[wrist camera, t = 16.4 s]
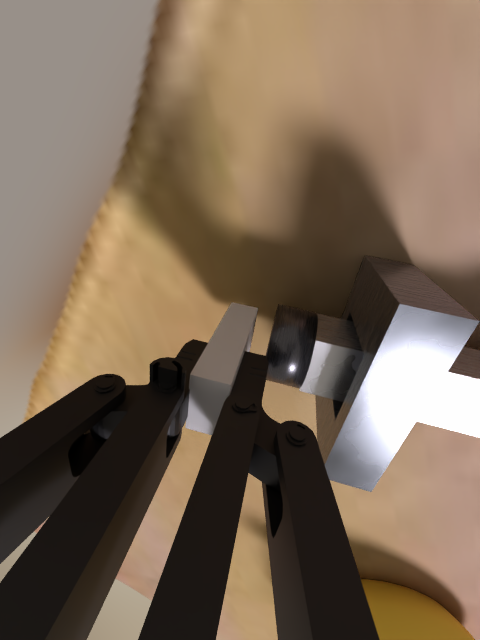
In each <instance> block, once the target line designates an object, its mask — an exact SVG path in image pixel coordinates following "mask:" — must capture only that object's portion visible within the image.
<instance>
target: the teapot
mask: <svg viewBox="0 0 480 640" xmlns="http://www.w3.org/2000/svg"><path fill="white" fill-rule="evenodd" d="M361 582H362V585H363V588H364V591H365V595H366V598H367V601H368V604H369V607H370V610H371V614H372V617H373V620H374V623H375V626H376V630H377V633H378V636H379V639H380V640H475V639H474V638H473V637H472V635H471V634H470V633H469V632H468V631H467V630H466V629H465V628H464V627H463V626H462V625H461V624H460V623H459V621H458V620H457V619H456V618H455V617H453V616H452V615H451V614H450V613H449V612H448V611H447V610H446V609H445V608H444V607H443V606H442V605H440V604H439V603H437V602H436V601H435V600H433V599H431V598H430V597H428V596H426V595H424V594H422V593H420V592H417V591H415V590H412V589H410V588H407V587H404V586H400V585H397V584H393V583H389V582H383V581H377V580H369V579H361Z"/></svg>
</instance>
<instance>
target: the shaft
mask: <svg viewBox="0 0 480 640" xmlns="http://www.w3.org/2000/svg"><path fill="white" fill-rule="evenodd" d="M363 357H364V354H363V351H362V348H361V344H360V341H359V338H358V335H357V332H356V329H355V326H354V322H353V321H349V320H344V319H340V318H336V317H331V316H327V315H323V314H318V313H316V312H311V311H307V310H302V309H298V308H294V307H289V306H285V305H281V304H278V307H277V310H276V315H275V319H274V323H273V327H272V331H271V335H270V339H269V344H268V348H267V352H266V358H267V360H268V363H269V366H268V371H267V376H266V380H269V381H272V382H276V383H280V384H284V385H288V386H292V387H296V388H299V391H302V392H306V393H310V394H314V395H318V396H322V397H326V398H330V399H333V400H337V401H341V402H344V400H345V398H346V395H347V393H348V391H349V388H350V386H351V384H352V382H353V379H354V377H355V375H356V373H357V370H358V368H359V366H360V364H361V361H362V359H363ZM417 421H419V422H422V423H426V424H430V425H434V426H438V427H442V428H446V429H450V430H453V431H457V432H461V433H465V434H469V435H473V436H477V437H480V350H476V349H472V348H467V347H463V348H462V350H461V352H460V353H459V355H458V356H457V358H456V359H455V361H454V363H453V364H452V366H451V367H450V369H449V370H448V372H447V374H446V375H445V377H444V378H443V380H442V381H441V383H440V385H439V386H438V388H437V389H436V391H435V392H434V394H433V396H432V397H431V399H430V400H429V402H428V404H427V405H426V407H425V408H424V410H423V411H422V413H421V415H420V416H419V418H418V419H417Z"/></svg>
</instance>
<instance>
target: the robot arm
mask: <svg viewBox="0 0 480 640" xmlns="http://www.w3.org/2000/svg"><path fill="white" fill-rule="evenodd" d="M257 312H258V308H256V307H251V306H247V305H242V304H238V303H233V302H232V303H231V304H230V306H229V308H228V310H227V311H226V313H225V315H224V316H223V318H222V320H221V322H220V323H219V325H218V327H217V329H216V330H215V332H214V334H213V336H212V337H211V339H210V341H209V342H208V343H206V342H202V341H198V340H194V339H193V340H191V341H189V342H188V343H186V344H185V345H184V346H183V348H182V349H181V350H180V352H179V353H178V355H177V357H175V358H169V357H166V358H160V359H157V360H154V361H153V362H152V363H151V364H150V382H149V384H147V385H126V383H125V381H124V379H123V378H122V377H121V376H118V375H115V374H104V375H99V376H97V377H95V378H93V379H91V380H89V381H88V382H86V383H85V384H83V385H81V386H80V387H78V388H77V389H75V390H74V391H72V392H71V393H69V394H68V395H66V396H64V397H63V398H61V399H60V400H58V401H57V402H55V403H54V404H52V405H51V406H49V407H47V408H46V409H44V410H43V411H41V412H40V413H38V414H37V415H35V416H34V417H32V418H30V419H29V420H27V421H26V422H24V423H23V424H21V425H20V426H18V427H17V428H15V429H13V430H12V431H10V432H9V433H7V434H6V435H4V436H3V437H1V438H0V564H1V562H3V561H4V560H5V559H6V558H7V557H8V556H9V555H10V554H11V553H12V552H13V551H14V550H15V549H16V548H17V547H18V546H19V545H20V544H21V543H22V542H23V541H24V540H25V539H26V538H27V537H28V536H29V535H30V534H31V533H33V532H34V531H35V530H36V529H37V528H38V527H39V526H40V525H41V524H42V523H43V522H44V521H45V520H46V519H47V518H48V517H49V516H50V517H49V518H48V519H47V521H46V522H45V523H44V525H43V526H42V527H41V529H40V530H39V532H38V533H37V534H36V536H35V537H34V538H33V540H32V541H31V542H30V544H29V545H28V547H27V548H26V549H25V550H24V552H23V553H22V554H21V556H20V557H19V558H18V560H17V561H16V562H15V564H14V565H13V566H12V568H11V569H10V571H9V572H8V573H7V574H6V576H5V577H4V579H3V580H2V581H1V583H0V640H86V639H87V638H88V635H89V633H90V631H91V629H92V627H93V624H94V623H95V620H96V618H97V616H98V614H99V612H100V610H101V608H102V606H103V603H104V601H105V599H106V597H107V595H108V593H109V591H110V588H111V586H112V584H113V582H114V580H115V578H116V576H117V574H118V571H119V569H120V567H121V565H122V563H123V561H124V559H125V556H126V554H127V552H128V550H129V548H130V546H131V544H132V542H133V539H134V537H135V535H136V533H137V531H138V529H139V527H140V524H141V522H142V520H143V518H144V516H145V514H146V512H147V510H148V507H149V505H150V503H151V501H152V499H153V497H154V495H155V492H156V490H157V488H158V486H159V484H160V482H161V480H162V478H163V475H164V473H165V471H166V469H167V467H168V465H169V463H170V460H171V458H172V456H173V454H174V452H175V450H176V448H177V446H178V443H179V441H180V439H181V434H182V427H183V425H184V423H185V421H186V428H187V429H191V430H195V431H198V432H202V433H206V434H209V435H212V437H211V440H210V443H209V445H208V448H207V451H206V454H205V456H204V459H203V462H202V465H201V467H200V470H199V473H198V476H197V478H196V481H195V484H194V487H193V489H192V492H191V495H190V498H189V500H188V503H187V506H186V509H185V512H184V514H183V517H182V520H181V523H180V525H179V528H178V531H177V534H176V536H175V539H174V542H173V545H172V547H171V550H170V553H169V556H168V558H167V561H166V564H165V567H164V570H163V572H162V575H161V578H160V581H159V583H158V586H157V589H156V592H155V594H154V597H153V600H152V603H151V606H150V608H149V611H148V614H147V616H146V619H145V622H144V625H143V627H142V630H141V633H140V636H139V639H138V640H216V635H217V630H218V625H219V620H220V615H221V610H222V605H223V599H224V594H225V589H226V584H227V579H228V574H229V569H230V564H231V559H232V553H233V548H234V543H235V538H236V533H237V528H238V523H239V518H240V513H241V507H242V502H243V497H244V492H245V487H246V482H247V477H248V473H250V474H251V475H253V476H254V477H256V478H257V479H259V480H260V481H262V488H263V498H264V508H265V517H266V527H267V537H268V547H269V556H270V566H271V576H272V586H273V595H274V605H275V615H276V625H277V634H278V640H380V639H379V636H378V633H377V630H376V626H375V623H374V620H373V617H372V614H371V610H370V607H369V604H368V601H367V598H366V595H365V591H364V588H363V585H362V582H361V579H360V576H359V572H358V569H357V566H356V563H355V560H354V557H353V553H352V550H351V547H350V544H349V541H348V537H347V534H346V531H345V528H344V525H343V522H342V518H341V515H340V512H339V509H338V506H337V503H336V499H335V496H334V493H333V490H332V487H331V483H330V480H329V477H328V474H327V471H326V468H325V464H324V461H323V458H322V455H321V452H320V449H319V445H318V442H317V439H316V437H315V435H314V433H313V431H312V430H311V429H310V428H309V427H308V426H306V425H304V424H302V423H301V422H297V421H285V422H283V423H281V424H280V423H278V422H276V421H274V420H273V419H271V418H270V417H269V416H268V415H267V414H266V413H265V412H264V410H263V408H262V397H263V392H264V387H265V382H266V376H267V371H268V366H269V363H268V360H267V358H266V356H263V355H259V354H255V353H251V352H249V351H250V347H251V342H252V337H253V332H254V327H255V322H256V317H257Z"/></svg>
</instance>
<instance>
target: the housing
mask: <svg viewBox="0 0 480 640" xmlns="http://www.w3.org/2000/svg"><path fill="white" fill-rule="evenodd" d="M341 319H344V320H349V321H353V322H354V326H355V329H356V332H357V335H358V338H359V341H360V344H361V348H362V351H363V354H364V357H363V359H362V361H361V364H360V366H359V368H358V370H357V373H356V375H355V377H354V379H353V382H352V384H351V386H350V388H349V391H348V393H347V395H346V398H345V400H344V402H341V401H337V400H333V399H330V398H326V397H322V396H318V395H316V419H317V442H318V445H319V449H320V452H321V455H322V458H323V461H324V464H325V468H326V471H327V474H328V477H329V480H332V481H335V482H339V483H342V484H345V485H349V486H352V487H356V488H359V489H363V490H366V491H370V492H372V490H373V488H374V487H375V485H376V484H377V482H378V481H379V479H380V477H381V476H382V474H383V473H384V471H385V470H386V468H387V466H388V465H389V463H390V462H391V460H392V459H393V457H394V455H395V454H396V452H397V451H398V449H399V448H400V446H401V444H402V443H403V441H404V440H405V438H406V437H407V435H408V433H409V432H410V430H411V429H412V427H413V426H414V424H415V422H416V421H417V419H418V418H419V416H420V415H421V413H422V411H423V410H424V408H425V407H426V405H427V404H428V402H429V400H430V399H431V397H432V396H433V394H434V392H435V391H436V389H437V388H438V386H439V385H440V383H441V381H442V380H443V378H444V377H445V375H446V374H447V372H448V370H449V369H450V367H451V366H452V364H453V363H454V361H455V359H456V358H457V356H458V355H459V353H460V352H461V350H462V348H463V347H464V345H465V344H466V342H467V341H468V339H469V337H470V336H471V334H472V333H473V331H474V330H475V328H476V326H477V325H478V323H479V322H480V321H479V320H478V319H477V318H475V317H474V316H473V315H472V314H471V313H469V312H468V311H467V310H466V309H465V308H464V307H462V306H461V305H460V304H459V303H458V302H457V301H455V300H454V299H453V298H452V297H451V296H449V295H448V294H447V293H446V292H445V291H444V290H442V289H441V288H440V287H439V286H438V285H437V284H435V283H434V282H433V281H432V280H431V279H430V278H428V277H427V276H426V275H425V274H424V273H422V272H421V271H420V270H419V269H418V268H417V267H415V266H414V265H411V264H406V263H401V262H396V261H391V260H386V259H381V258H376V257H371V256H367V255H365V256H364V259H363V261H362V264H361V267H360V269H359V272H358V275H357V278H356V280H355V283H354V286H353V288H352V291H351V294H350V297H349V299H348V302H347V305H346V307H345V310H344V313H343V316H342V318H341Z"/></svg>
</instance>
